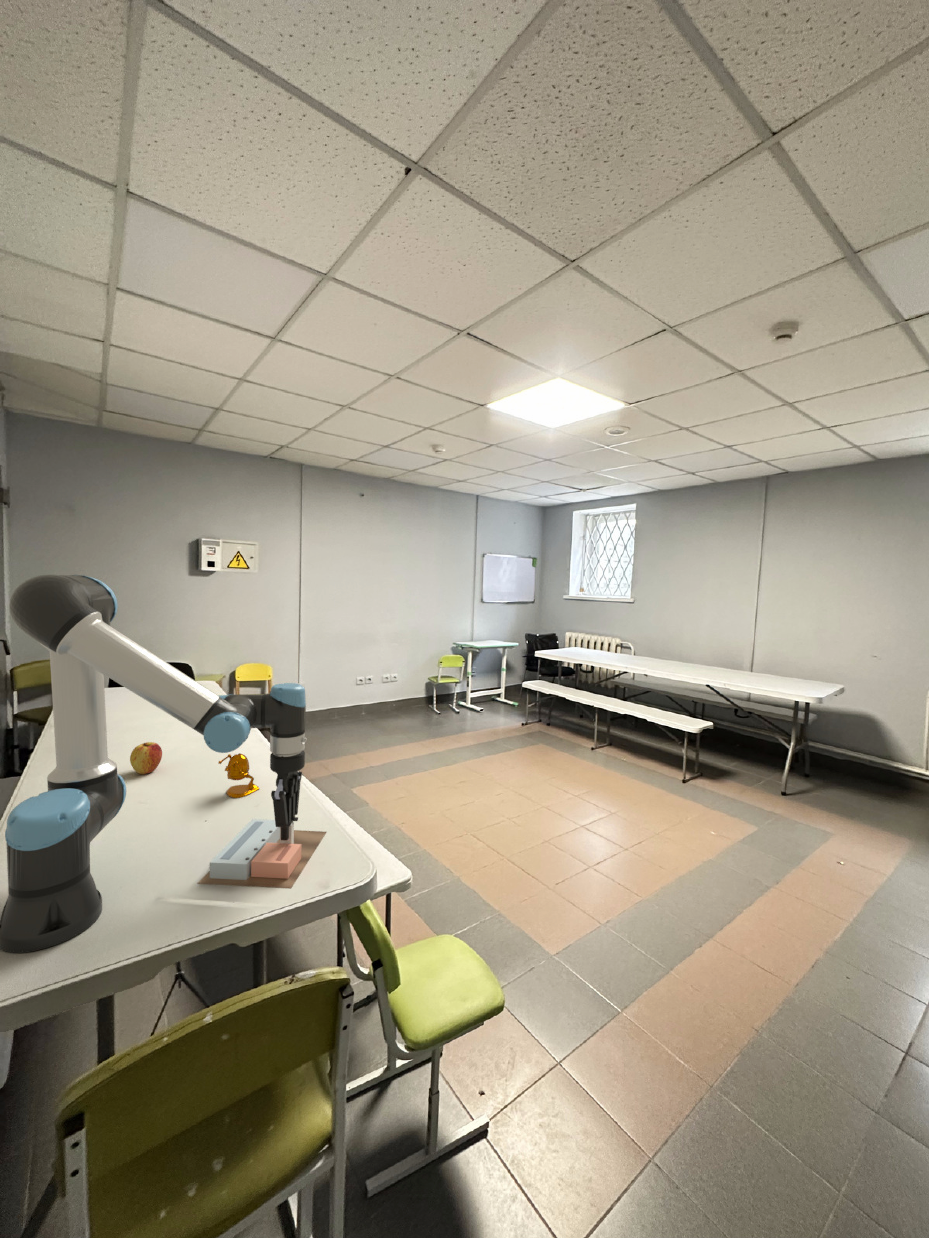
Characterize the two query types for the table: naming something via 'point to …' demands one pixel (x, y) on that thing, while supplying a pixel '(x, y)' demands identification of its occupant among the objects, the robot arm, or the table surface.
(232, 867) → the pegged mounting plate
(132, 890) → the table surface
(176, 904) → the table surface
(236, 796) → the figurine
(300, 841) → the backing board
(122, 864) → the table surface
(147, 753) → the apple
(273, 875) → the stub
